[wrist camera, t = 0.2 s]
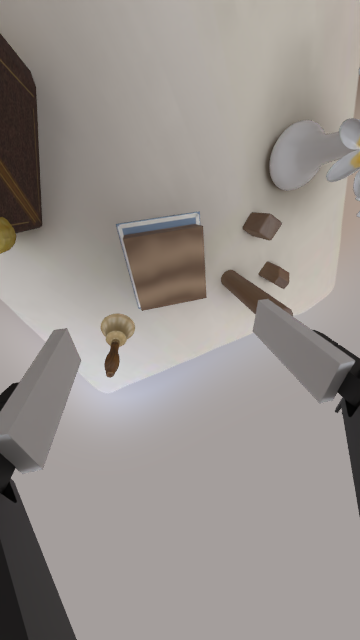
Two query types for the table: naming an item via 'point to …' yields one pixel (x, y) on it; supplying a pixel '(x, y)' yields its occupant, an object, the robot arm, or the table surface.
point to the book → (18, 149)
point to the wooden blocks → (247, 291)
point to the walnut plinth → (167, 265)
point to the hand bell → (116, 338)
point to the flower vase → (316, 154)
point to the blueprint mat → (150, 226)
